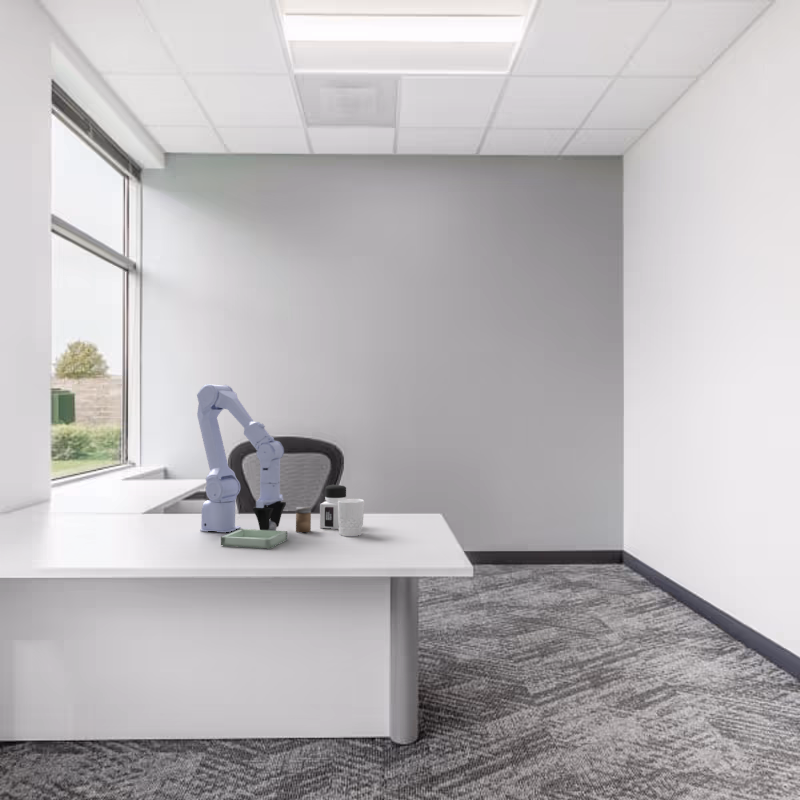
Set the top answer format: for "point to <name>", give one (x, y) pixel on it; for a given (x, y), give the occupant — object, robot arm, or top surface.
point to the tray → (254, 538)
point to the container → (331, 506)
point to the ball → (272, 526)
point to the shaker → (303, 519)
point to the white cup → (350, 516)
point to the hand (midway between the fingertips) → (269, 529)
